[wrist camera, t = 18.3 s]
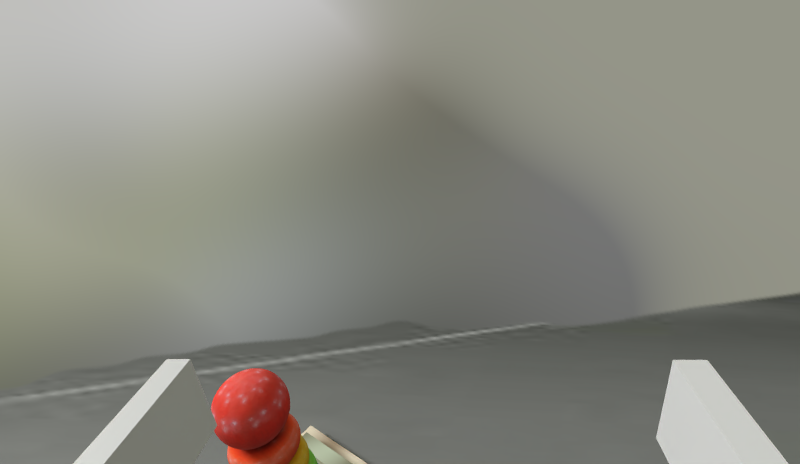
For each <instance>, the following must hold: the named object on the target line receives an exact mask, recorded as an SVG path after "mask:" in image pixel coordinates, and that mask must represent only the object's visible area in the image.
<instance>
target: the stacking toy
mask: <svg viewBox="0 0 800 464" xmlns="http://www.w3.org/2000/svg"><path fill="white" fill-rule="evenodd" d="M211 411H212V414H213V416H214V419H215V421H216V423H217V427H216V428H215V430H214V431H215V433H216V435H217V436H218V437H219V439H220V440H221V441H222V442H224V443H225V444H226V445H228V450H227V458H228V462H229V464H318V463H317V460H316V458H315V456H314V454H313V453H312V451H311V450H310V449H309V448H308V445H307V442H306V441H305V439H304V438H303V436H302V435H301V433H300V427H299V424H298V422H297V421H296V419H295V418H294V417H293V416H292V415H291V414H289V411H290V397H289V392H288V389H287V387H286V385H285V384H284V382H283V381H282V380H281V379H280V378H279V377H278V376H277V375H276V374H274V373H273V372H271V371H268V370H265V369H259V368H254V369H247V370H243V371H241V372H238V373H236V374H234V375H233V376H231V377H230V378H229V379H227V380H226V381H225V382H224V383H223V384H222V386H221V387H220V388H219V389H218V391H217V393H216V395H215V396H214V399H213V402H212V406H211Z"/></svg>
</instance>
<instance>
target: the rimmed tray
mask: <svg viewBox="0 0 800 464" xmlns="http://www.w3.org/2000/svg"><path fill="white" fill-rule="evenodd" d="M301 435H302V436H303V438H304V439H305V441H306V442H307V445H308V448H309V449H310V450H311V451H312V453H313V454H314V456H315V458H316V460H317V463H318V464H367V463H366V462H364V461H363V460H361V459H360V458H358V457H357V456H355V455H354V454H352V453H351V452H349V451H348V450H346V449H345V448H343V447H342V446H340V445H339V444H337V443H336V442H334V441H333V440H331V439H330V438H328V437H327V436H325V435H324V434H322V433H321V432H319V431H318V430H316V429H315V428H313V427H312V426H310V427H309V428H308V429H307V430H306V431H304V432H303V433H302V434H301Z"/></svg>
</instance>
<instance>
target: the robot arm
mask: <svg viewBox="0 0 800 464" xmlns="http://www.w3.org/2000/svg"><path fill="white" fill-rule="evenodd" d="M216 427H217V423H216V421H215V419H214V416H213V414H212V411H211V409H210V406H209V404H208V401H207V399H206V397H205V394H204V392H203V389H202V387H201V384H200V382H199V380H198V377H197V375H196V372H195V370H194V367H193V365H192V363H191V360H190V359H167V360H166V361H165V362H164V363H163V364H162V365H161V366H160V367H159V369H158V370H157V371H156V372H155V373H154V374H153V375H152V376H151V377H150V379H149V380H148V381H147V382H146V383H145V384H144V385H143V386H142V388H141V389H140V390H139V391H138V392H137V393H136V394H135V395H134V396H133V398H132V399H131V400H130V401H129V402H128V403H127V404H126V405H125V406H124V408H123V409H122V410H121V411H120V412H119V413H118V414H117V415H116V416H115V418H114V419H113V420H112V421H111V422H110V423H109V424H108V425H107V426H106V428H105V429H104V430H103V431H102V432H101V433H100V434H99V435H98V437H97V438H96V439H95V440H94V441H93V442H92V443H91V444H90V445H89V447H88V448H87V449H86V450H85V451H84V452H83V453H82V454H81V455H80V457H79V458H78V459H77V460H76V461H75V462H74V463H73V464H194V462H195V461H196V459H197V457H198V456H199V454H200V453H201V451H202V449H203V448H204V446H205V444H206V443H207V441H208V440H209V438H210V436H211V435H212V433H213V431H214V430H215V428H216ZM656 439H657V441H658V442H659V444H660V446H661V448H662V450H663V452H664V454H665V456H666V458H667V460H668V462H669V464H788V463H787V461H786V460H785V459H784V458H783V456H782V455H781V454H780V452H779V451H778V450H777V449H776V447H775V446H774V445H773V443H772V442H771V441H770V440H769V438H768V437H767V436H766V435H765V433H764V432H763V431H762V429H761V428H760V427H759V426H758V424H757V423H756V422H755V420H754V419H753V418H752V417H751V415H750V414H749V413H748V412H747V410H746V409H745V408H744V406H743V405H742V404H741V403H740V401H739V400H738V399H737V397H736V396H735V395H734V394H733V392H732V391H731V390H730V389H729V387H728V386H727V385H726V383H725V382H724V381H723V380H722V378H721V377H720V376H719V374H718V373H717V372H716V371H715V369H714V368H713V367H712V366H711V364H710V363H709V362H708V360H673V362H672V367H671V372H670V376H669V381H668V386H667V390H666V395H665V400H664V404H663V409H662V413H661V418H660V423H659V427H658V432H657V437H656Z"/></svg>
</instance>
